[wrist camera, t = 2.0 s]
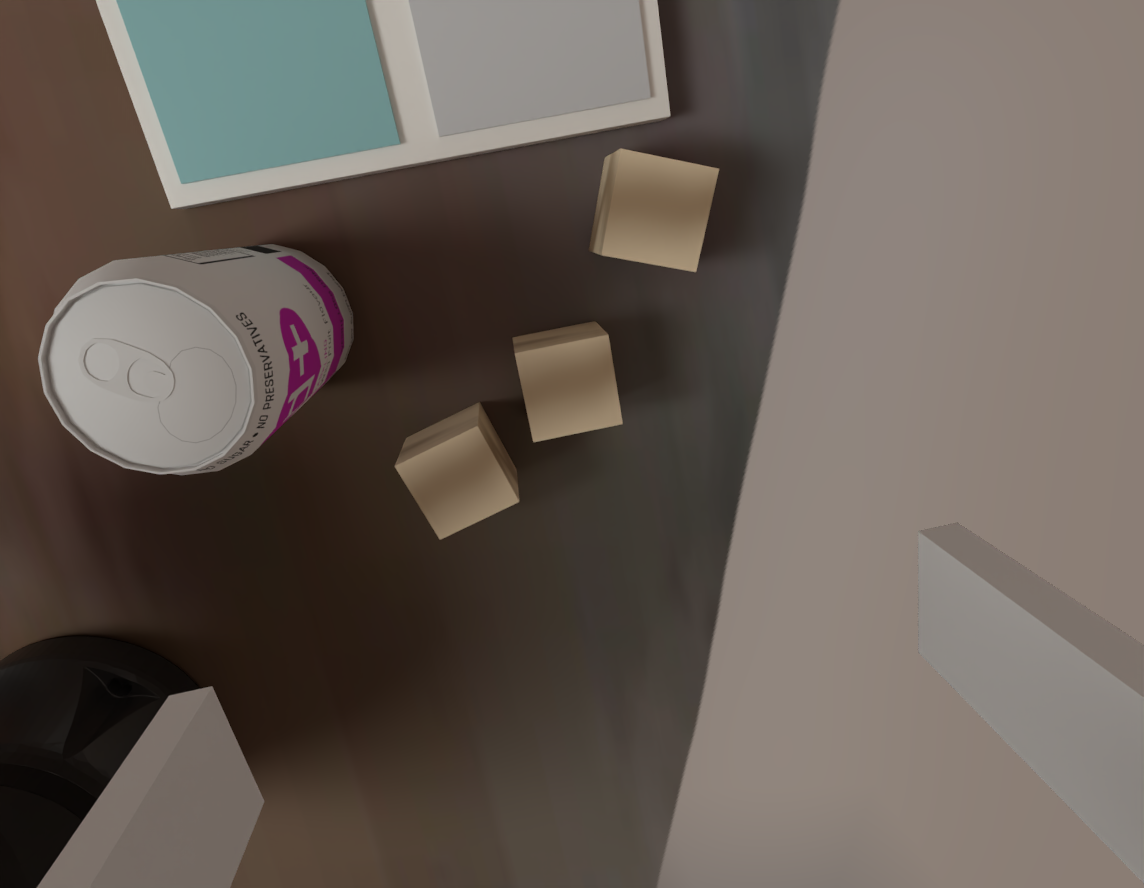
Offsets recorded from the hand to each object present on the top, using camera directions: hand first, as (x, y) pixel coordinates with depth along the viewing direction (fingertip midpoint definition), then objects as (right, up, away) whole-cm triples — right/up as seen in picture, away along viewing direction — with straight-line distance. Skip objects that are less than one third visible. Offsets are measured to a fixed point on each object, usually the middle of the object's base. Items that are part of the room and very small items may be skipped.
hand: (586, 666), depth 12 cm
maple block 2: (-1, +9, +28) cm, 29 cm away
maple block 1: (-7, +4, +29) cm, 30 cm away
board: (-9, +26, +21) cm, 34 cm away
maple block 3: (+4, +17, +25) cm, 31 cm away
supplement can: (-17, +11, +25) cm, 32 cm away
